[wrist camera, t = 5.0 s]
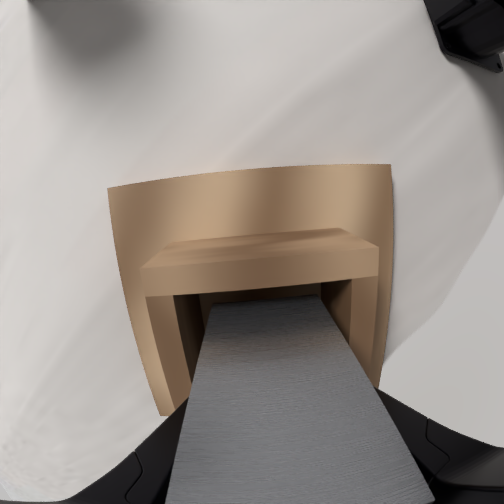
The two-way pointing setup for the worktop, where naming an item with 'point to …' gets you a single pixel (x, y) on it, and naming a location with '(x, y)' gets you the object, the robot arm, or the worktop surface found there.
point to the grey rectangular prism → (287, 416)
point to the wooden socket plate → (252, 257)
